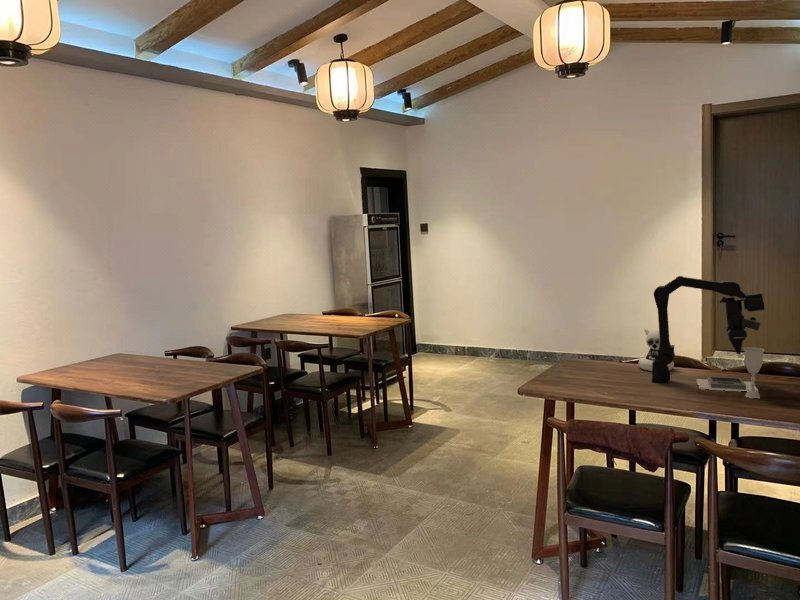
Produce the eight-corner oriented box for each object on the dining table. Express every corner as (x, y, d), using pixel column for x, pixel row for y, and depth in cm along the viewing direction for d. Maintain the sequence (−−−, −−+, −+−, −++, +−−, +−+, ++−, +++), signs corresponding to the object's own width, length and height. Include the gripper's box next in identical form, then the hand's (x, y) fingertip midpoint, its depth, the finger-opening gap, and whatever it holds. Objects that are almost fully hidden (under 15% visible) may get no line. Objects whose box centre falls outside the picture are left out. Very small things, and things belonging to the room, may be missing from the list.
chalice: (766, 399, 217) (768, 351, 216) (746, 399, 219) (747, 351, 217) (758, 394, 225) (760, 347, 223) (739, 394, 226) (740, 347, 224)
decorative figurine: (633, 370, 270) (634, 326, 268) (644, 364, 281) (644, 322, 279) (668, 374, 260) (669, 329, 258) (678, 367, 271) (678, 324, 269)
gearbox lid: (699, 389, 234) (699, 383, 234) (696, 380, 247) (696, 375, 247) (758, 392, 227) (758, 386, 227) (751, 383, 240) (752, 378, 240)
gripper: (760, 314, 222) (764, 355, 223) (755, 308, 239) (759, 346, 240) (726, 316, 227) (730, 357, 228) (724, 310, 244) (728, 348, 245)
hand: (738, 352), depth 235 cm, fingers open, 9 cm apart
